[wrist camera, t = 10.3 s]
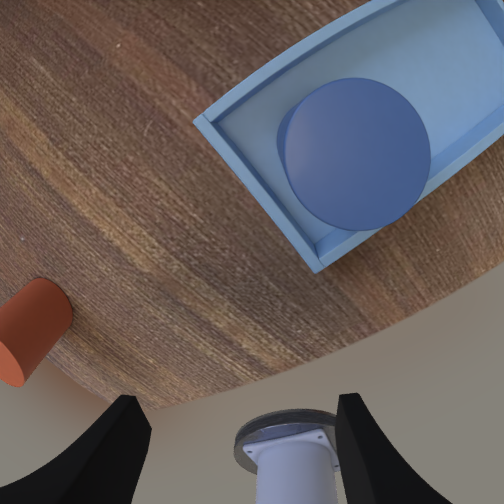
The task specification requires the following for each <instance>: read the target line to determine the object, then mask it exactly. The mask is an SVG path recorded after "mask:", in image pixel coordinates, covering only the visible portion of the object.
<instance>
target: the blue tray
mask: <svg viewBox="0 0 504 504" xmlns="http://www.w3.org/2000/svg"><path fill="white" fill-rule="evenodd" d="M343 78H365V79H371V80H375V81H378V82H380V83H383V84H385V85H387V86H389V87H391V88H393V89H394V90H396V91H397V92H399V93H400V94H401V95H402V96H403V97H405V98H406V99H407V100H408V101H409V102H410V104H411V105H412V106H413V107H414V108H415V110H416V111H417V113H418V114H419V116H420V117H421V119H422V121H423V123H424V125H425V128H426V131H427V134H428V138H429V142H430V150H431V164H430V172H429V176H428V179H427V182H426V185H425V188H424V190H423V192H422V194H421V195H420V197H419V199H418V200H417V202H419V201H420V200H421V199H423V198H424V197H425V196H427V195H428V194H429V193H431V192H432V191H433V190H434V189H436V188H437V187H438V186H440V185H441V184H442V183H444V182H445V181H446V180H447V179H449V178H450V177H451V176H453V175H454V174H455V173H456V172H458V171H459V170H460V169H462V168H463V167H464V166H465V165H467V164H468V163H469V162H470V161H472V160H473V159H474V158H475V157H477V156H478V155H479V154H480V153H482V152H483V151H484V150H485V149H486V148H488V147H489V146H490V145H491V144H493V143H494V142H495V141H496V140H497V139H499V138H500V137H501V136H502V135H503V134H504V3H503V1H502V0H372V1H370V2H368V3H366V4H364V5H362V6H360V7H358V8H356V9H355V10H353V11H351V12H349V13H347V14H345V15H343V16H342V17H340V18H338V19H336V20H335V21H333V22H331V23H329V24H328V25H326V26H324V27H323V28H321V29H319V30H317V31H316V32H314V33H313V34H311V35H309V36H308V37H306V38H304V39H303V40H301V41H300V42H298V43H297V44H295V45H294V46H292V47H290V48H289V49H287V50H286V51H284V52H283V53H281V54H280V55H278V56H277V57H275V58H274V59H273V60H271V61H270V62H268V63H267V64H265V65H264V66H263V67H261V68H260V69H258V70H257V71H256V72H254V73H253V74H251V75H250V76H249V77H247V78H246V79H245V80H243V81H242V82H241V83H239V84H238V85H237V86H235V87H234V88H233V89H231V90H230V91H229V92H228V93H226V94H225V95H224V96H222V97H221V98H220V99H219V100H217V101H216V102H215V103H214V104H212V105H211V106H210V107H209V108H208V109H206V110H205V111H204V112H203V114H200V115H199V116H198V117H197V118H196V119H194V120H193V124H194V125H195V126H196V127H197V128H198V130H199V131H200V132H201V133H202V134H203V136H204V137H205V138H206V139H207V140H208V142H209V143H210V144H211V145H212V146H213V147H214V149H215V150H216V151H217V152H218V153H219V155H220V156H221V157H222V158H223V159H224V161H225V162H226V163H227V164H228V165H229V167H230V168H231V169H232V170H233V172H234V173H235V174H236V175H237V176H238V178H239V179H240V180H241V181H242V183H243V184H244V185H245V186H246V187H247V189H248V190H249V191H250V192H251V194H252V195H253V196H254V197H255V199H256V200H257V201H258V202H259V204H260V205H261V206H262V207H263V209H264V210H265V211H266V212H267V214H268V215H269V216H270V217H271V219H272V220H273V221H274V222H275V224H276V225H277V226H278V227H279V229H280V230H281V231H282V232H283V234H284V235H285V236H286V237H287V239H288V240H289V241H290V243H291V244H292V245H293V246H294V248H295V249H296V250H297V252H298V253H299V254H300V255H301V257H302V258H303V259H304V261H305V262H306V263H307V264H308V266H309V267H310V268H311V270H312V271H313V272H314V273H315V274H316V273H318V272H319V271H321V270H322V269H324V267H327V266H328V265H330V264H331V263H333V262H334V261H336V260H337V259H339V258H340V257H342V256H343V255H345V254H346V253H347V252H349V251H350V250H352V249H353V248H355V247H356V246H358V245H359V244H360V243H362V242H363V241H365V240H366V239H368V238H369V237H370V236H372V235H373V234H375V233H376V232H377V231H379V230H380V229H382V228H383V227H381V228H378V229H374V230H369V231H347V230H343V229H338V228H336V227H333V226H330V225H328V224H326V223H324V222H322V221H320V220H319V219H317V218H316V217H315V216H313V215H312V214H311V213H310V212H309V211H308V210H306V209H305V208H304V206H303V205H302V204H301V203H300V202H299V200H298V199H297V197H296V196H295V194H294V193H293V191H292V189H291V187H290V185H289V183H288V180H287V177H286V174H285V171H284V169H283V166H282V163H281V160H280V157H279V155H278V150H277V142H276V141H277V132H278V128H279V125H280V123H281V121H282V119H283V117H284V116H285V115H286V113H287V112H288V111H289V110H290V109H291V108H292V107H294V106H295V105H296V104H297V103H299V102H300V101H301V100H302V99H304V98H305V97H306V96H307V95H309V94H310V93H311V92H312V91H314V90H315V89H317V88H318V87H320V86H322V85H324V84H326V83H329V82H331V81H334V80H338V79H343ZM417 202H416V203H417ZM416 203H415V204H416ZM415 204H414V205H415Z"/></svg>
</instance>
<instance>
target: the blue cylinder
mask: <svg viewBox="0 0 504 504" xmlns="http://www.w3.org/2000/svg"><path fill="white" fill-rule="evenodd" d="M276 142H277V150H278V155H279V157H280V160H281V163H282V166H283V169H284V171H285V174H286V177H287V180H288V183H289V185H290V187H291V189H292V191H293V193H294V194H295V196H296V197H297V199H298V200H299V202H300V203H301V204H302V205H303V206H304V208H305V209H306V210H308V211H309V212H310V213H311V214H312V215H313V216H315V217H316V218H317V219H319V220H320V221H322V222H324V223H326V224H328V225H330V226H333V227H336V228H338V229H343V230H347V231H369V230H374V229H378V228H381V227H384V226H387V225H389V224H391V223H393V222H395V221H396V220H398V219H399V218H401V217H402V216H403V215H404V214H406V213H407V212H408V211H409V210H410V209H411V208H412V207H413V206H414V204H415V203H416V202H417V200H418V199H419V197H420V195H421V194H422V192H423V190H424V188H425V185H426V182H427V179H428V176H429V172H430V164H431V150H430V142H429V138H428V134H427V131H426V128H425V125H424V123H423V121H422V119H421V117H420V116H419V114H418V113H417V111H416V110H415V108H414V107H413V106H412V105H411V104H410V102H409V101H408V100H407V99H406V98H405V97H403V96H402V95H401V94H400V93H399V92H397V91H396V90H394V89H393V88H391V87H389V86H387V85H385V84H383V83H380V82H378V81H375V80H371V79H365V78H343V79H338V80H334V81H331V82H329V83H326V84H324V85H322V86H320V87H318V88H317V89H315V90H314V91H312V92H311V93H310V94H309V95H307V96H306V97H305V98H304V99H302V100H301V101H300V102H299V103H297V104H296V105H295V106H294V107H292V108H291V109H290V110H289V111H288V112H287V113H286V115H285V116H284V117H283V119H282V121H281V123H280V125H279V128H278V132H277V141H276Z"/></svg>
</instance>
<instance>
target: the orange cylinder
mask: <svg viewBox="0 0 504 504" xmlns="http://www.w3.org/2000/svg"><path fill="white" fill-rule="evenodd" d="M72 320H73V312H72V308H71V305H70V303H69V300H68V299H67V297H66V295H65V294H64V293H63V291H62V290H61V289H60V288H59V287H58V286H57V285H56V284H54V283H53V282H51V281H49V280H47V279H44V278H36V279H34V280H32V281H31V282H30V283H29V284H27V285H26V286H25V287H24V288H23V289H21V290H20V291H19V292H18V293H17V294H16V295H14V296H13V297H12V298H11V299H10V300H9V301H7V302H6V303H5V304H4V305H3V306H2V307H1V308H0V379H1V380H3V381H4V382H6V383H7V384H9V385H11V386H14V387H21V386H23V385H24V383H25V382H26V381H27V379H28V378H29V377H30V375H31V374H32V373H33V371H34V370H35V369H36V367H37V366H38V365H39V364H40V362H41V361H42V360H43V358H44V357H45V356H46V355H47V353H48V352H49V351H50V350H51V348H52V347H53V346H54V345H55V343H56V342H57V341H58V340H59V338H60V337H61V336H62V335H63V334H64V332H65V331H66V330H67V329H68V327H69V326H70V325H71V323H72Z"/></svg>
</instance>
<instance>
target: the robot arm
mask: <svg viewBox="0 0 504 504" xmlns="http://www.w3.org/2000/svg"><path fill="white" fill-rule="evenodd" d="M334 429H335V440H336V449H337V454H336V452H335V451H334V449H333V447H332V445H331V443H330V441H329V439H328V437H327V435H326V433H325V431H324V430H323V429H316V430H312V431H308V432H304V433H300V434H296V435H291V436H287V437H282V438H278V439H273V440H268V441H262V442H257V443H251V444H246V445H244V446H243V451H244V452H245V453H246V454H247V455H248V456H249V457H250V458H251V459H252V460H253V461H254V462H255V463H256V464H257V465H258V470H257V489H256V504H338V499H337V491H336V482H335V475H334V472H337V471H341V475H342V479H343V484H344V488H345V494H346V498H347V503H348V504H452V503H451V502H450V501H448V500H447V499H446V498H445V497H443V496H442V495H440V494H439V493H438V492H437V491H436V490H434V489H433V488H432V487H431V486H430V485H429V484H427V482H426V481H424V480H423V479H422V478H421V477H420V476H419V475H418V474H417V473H416V472H415V471H414V470H413V469H412V467H411V466H410V465H409V464H408V463H407V462H406V461H405V460H404V458H403V457H402V456H401V455H400V454H399V453H398V451H397V450H396V449H395V448H394V447H393V445H392V444H391V442H390V441H389V440H388V439H387V437H386V436H385V435H384V433H383V431H382V430H381V429H380V427H379V426H378V424H377V423H376V421H375V420H374V418H373V417H372V415H371V414H370V412H369V410H368V409H367V407H366V405H365V404H364V402H363V400H362V398H361V396H360V395H359V394H358V393H350V394H342V395H339V402H338V409H337V415H336V422H335V428H334ZM151 430H152V428H151V426H150V424H149V422H148V420H147V418H146V417H145V414H144V412H143V411H142V409H141V407H140V405H139V402H138V400H137V398H136V396H130V395H120V396H119V397H118V398H117V399H116V400H115V401H114V402H113V404H112V405H111V406H110V407H109V408H108V409H107V410H106V411H105V412H104V413H103V414H102V415H101V416H100V417H99V418H98V419H97V420H96V421H95V422H94V423H93V424H92V425H91V426H90V427H89V428H88V429H87V430H86V431H85V432H84V433H83V434H82V435H81V436H80V437H79V438H78V439H77V440H76V441H75V442H74V443H72V444H71V445H70V446H69V447H68V448H67V449H66V450H64V451H63V452H62V453H61V454H59V455H58V456H57V457H55V458H54V459H53V460H51V461H50V462H49V463H47V464H46V465H44V466H43V467H41V468H39V469H38V470H36V471H34V472H33V473H31V474H30V475H27V476H26V477H24V478H22V479H20V480H17V481H15V482H13V483H11V484H8V485H6V486H3V487H0V504H131V502H132V498H133V494H134V492H135V489H136V486H137V482H138V479H139V476H140V473H141V470H142V467H143V464H144V461H145V458H146V455H147V452H148V447H149V442H150V436H151Z"/></svg>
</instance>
